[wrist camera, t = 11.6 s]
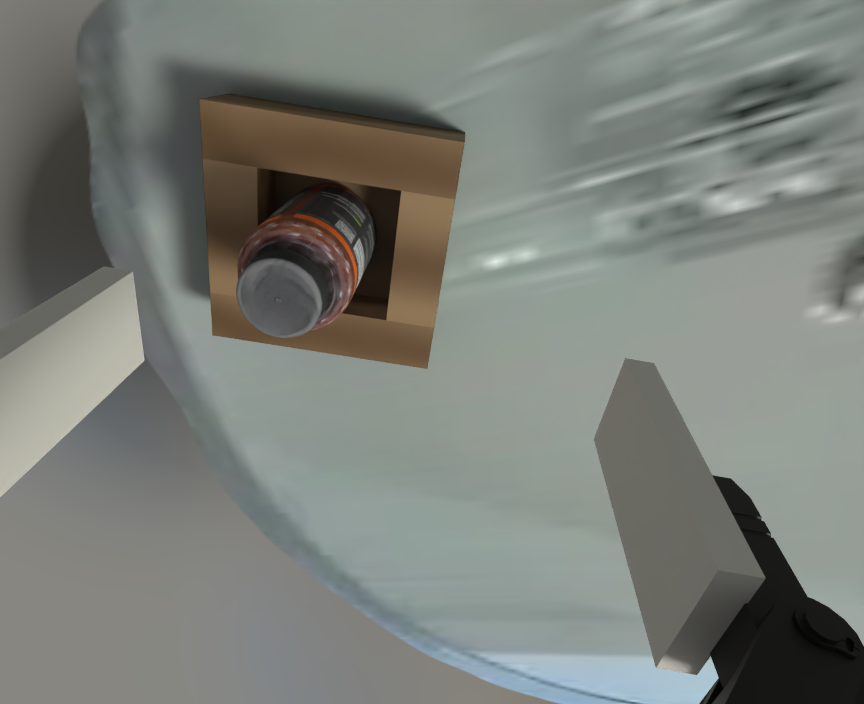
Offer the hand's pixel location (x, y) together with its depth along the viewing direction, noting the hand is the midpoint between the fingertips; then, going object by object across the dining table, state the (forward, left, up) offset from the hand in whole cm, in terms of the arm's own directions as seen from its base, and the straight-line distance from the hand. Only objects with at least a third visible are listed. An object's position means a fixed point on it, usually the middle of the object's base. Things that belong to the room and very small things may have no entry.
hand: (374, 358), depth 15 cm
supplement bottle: (+3, -6, -21) cm, 22 cm away
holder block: (+4, -5, -22) cm, 23 cm away
